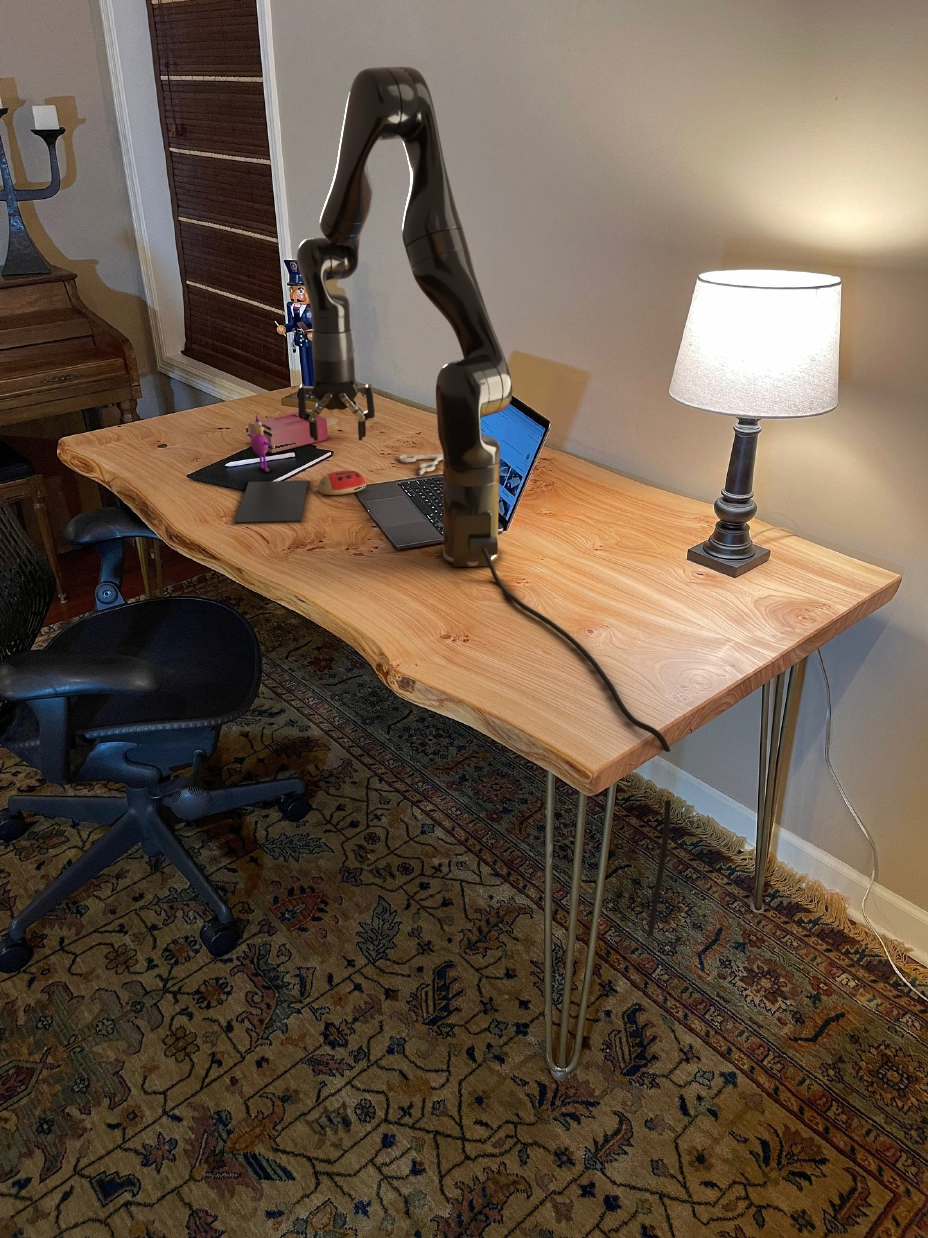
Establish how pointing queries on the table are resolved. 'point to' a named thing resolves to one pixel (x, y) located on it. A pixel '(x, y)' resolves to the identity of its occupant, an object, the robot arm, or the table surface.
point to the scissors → (432, 464)
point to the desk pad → (272, 502)
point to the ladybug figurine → (341, 483)
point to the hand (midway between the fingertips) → (338, 439)
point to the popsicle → (292, 430)
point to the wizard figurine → (260, 441)
